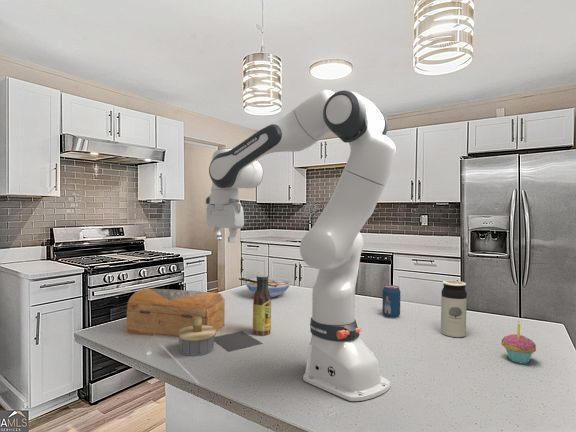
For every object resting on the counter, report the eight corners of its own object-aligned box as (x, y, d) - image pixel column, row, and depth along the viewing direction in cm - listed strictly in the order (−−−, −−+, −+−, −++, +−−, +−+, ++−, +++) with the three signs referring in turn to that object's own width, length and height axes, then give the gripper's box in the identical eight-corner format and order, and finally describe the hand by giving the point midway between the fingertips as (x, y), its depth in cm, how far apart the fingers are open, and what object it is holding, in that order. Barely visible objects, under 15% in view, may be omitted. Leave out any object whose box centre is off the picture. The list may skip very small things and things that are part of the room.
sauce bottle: (268, 337, 124) (268, 278, 124) (250, 336, 125) (250, 277, 125) (273, 331, 130) (273, 274, 130) (255, 329, 132) (256, 273, 131)
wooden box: (226, 326, 136) (227, 288, 136) (206, 342, 120) (206, 299, 120) (154, 319, 143) (154, 283, 143) (125, 333, 127) (125, 293, 127)
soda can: (399, 314, 153) (399, 285, 152) (401, 319, 146) (401, 288, 146) (381, 313, 154) (382, 284, 154) (382, 318, 147) (383, 287, 147)
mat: (263, 344, 118) (263, 343, 118) (228, 353, 111) (228, 351, 111) (242, 332, 129) (242, 331, 129) (209, 339, 122) (209, 337, 122)
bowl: (219, 352, 111) (219, 335, 111) (186, 359, 105) (186, 342, 105) (206, 342, 119) (206, 326, 119) (175, 348, 114) (175, 332, 113)
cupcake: (536, 368, 102) (537, 325, 101) (500, 361, 106) (501, 320, 106) (535, 358, 109) (536, 317, 109) (501, 352, 113) (502, 312, 113)
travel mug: (442, 328, 135) (443, 279, 134) (466, 332, 131) (467, 281, 130) (439, 335, 128) (440, 283, 127) (464, 339, 124) (465, 285, 123)
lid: (221, 335, 111) (222, 319, 111) (185, 343, 105) (185, 325, 104) (207, 326, 120) (207, 310, 120) (173, 332, 114) (173, 316, 113)
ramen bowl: (302, 296, 181) (302, 280, 181) (268, 305, 164) (268, 287, 164) (267, 288, 198) (267, 273, 198) (233, 296, 181) (233, 279, 181)
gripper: (249, 198, 115) (249, 243, 116) (220, 199, 132) (220, 238, 132) (230, 198, 112) (230, 244, 112) (203, 199, 128) (203, 239, 128)
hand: (224, 241), depth 122 cm, fingers open, 8 cm apart
